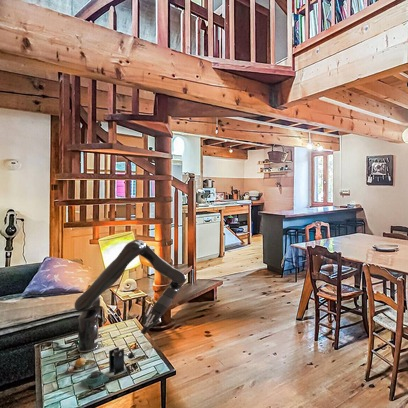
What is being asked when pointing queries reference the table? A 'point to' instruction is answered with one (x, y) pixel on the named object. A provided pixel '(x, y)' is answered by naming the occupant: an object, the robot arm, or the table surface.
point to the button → (95, 374)
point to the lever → (130, 355)
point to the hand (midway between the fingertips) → (142, 333)
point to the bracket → (116, 361)
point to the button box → (95, 380)
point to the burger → (80, 365)
